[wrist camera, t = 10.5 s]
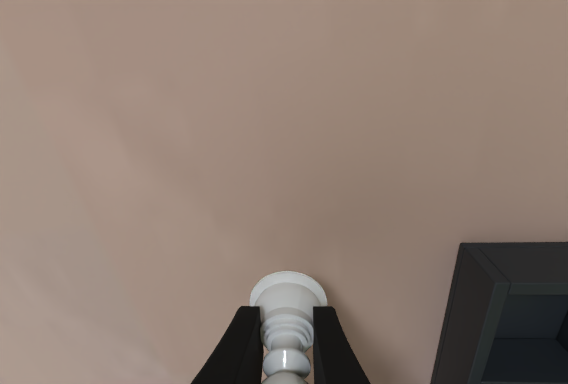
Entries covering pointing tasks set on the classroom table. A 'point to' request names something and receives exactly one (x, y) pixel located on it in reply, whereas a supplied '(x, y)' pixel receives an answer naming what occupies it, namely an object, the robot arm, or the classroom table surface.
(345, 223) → the classroom table surface
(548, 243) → the tray
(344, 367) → the robot arm
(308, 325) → the chess pawn
